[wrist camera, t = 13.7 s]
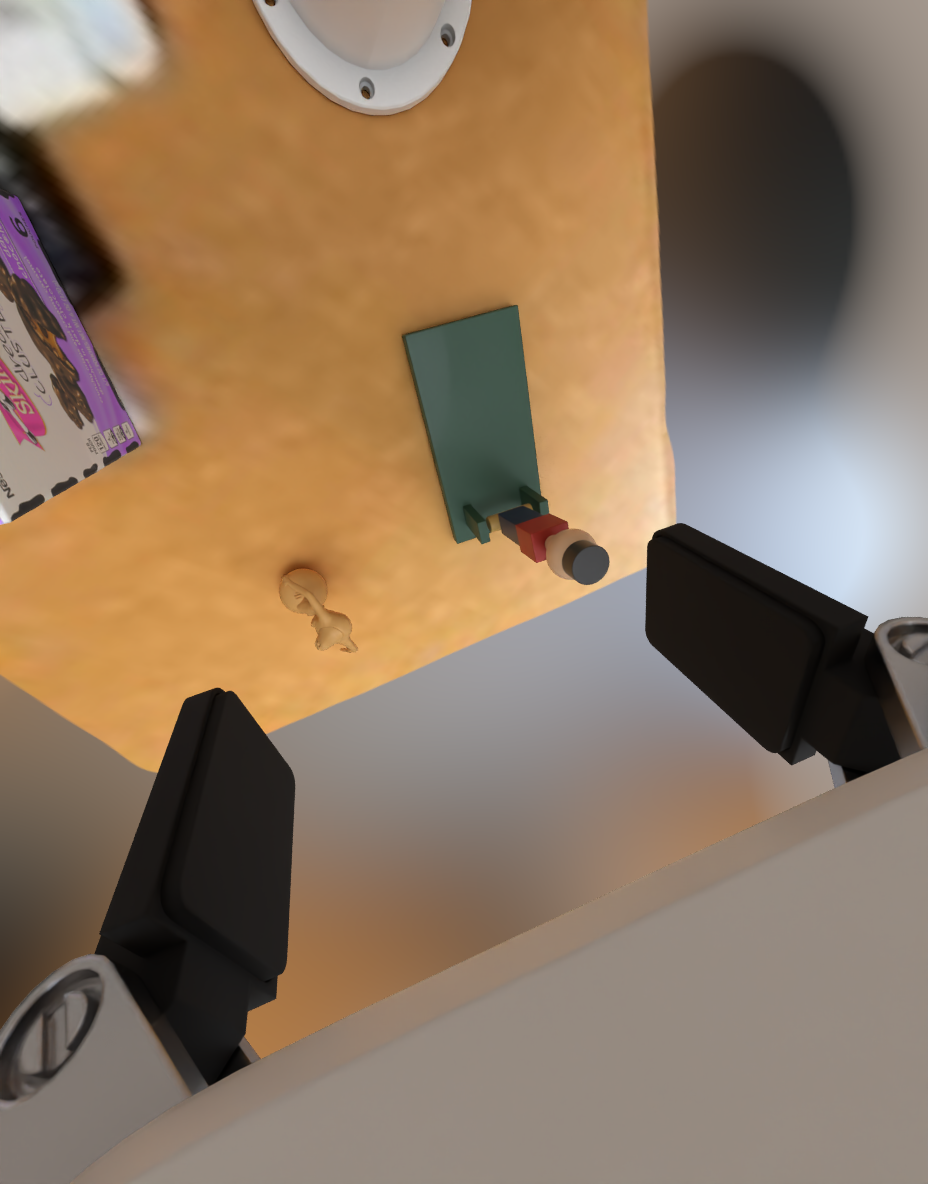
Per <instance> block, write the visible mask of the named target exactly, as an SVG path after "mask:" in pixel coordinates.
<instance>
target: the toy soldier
mask: <svg viewBox="0 0 928 1184" xmlns="http://www.w3.org/2000/svg"><path fill="white" fill-rule="evenodd" d="M486 523H487V527H488V529H489V531H490V532H495V531H498V530H502V534H504V535H505V536H507V537H508V538H509V539H511V540H512V541H513V542H515V543H516V544H518V545H519V546H520V549H521V552H522V553H524V554H525V555H526V556H528V557H529V558H530V559H532V560H533V561H534V562H536V563H538V562H541V561H544V560H547V563H548V566H549V567H550V569H551V570H552V571H553V572H554V573H555V574H556V575H557V576H559V577H561V578H564V579H568V580H576V581H577V582H579V583H581V584H584V585H590V584H594V583H596V582H598V581H599V580H601V579H602V578H603V577H604V575H605V574H606V572H607V570H608V567H609V556H608V554H607V552H606V550H605V549H603V548H602V547H600V546H598V545H597V544H596V542H595V541H594V539H593V538H592V537H591V536H590V535H589V534H588V533H586V532H585V531H582V530H579V529H569V528H568V522H567V521H565V520H562V519H560V518H558V517H556V516H554V515H551V514H546V515H542V514H540V513H538V512H536V511H534V510H533V508H532V506H531V505H530V504H529V503H527V504H524V505H521V506H518V507H515V508H512V509H509V510H506V511H503V512H500V513H497V514H494V515H491V516H488V517H486Z"/></svg>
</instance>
